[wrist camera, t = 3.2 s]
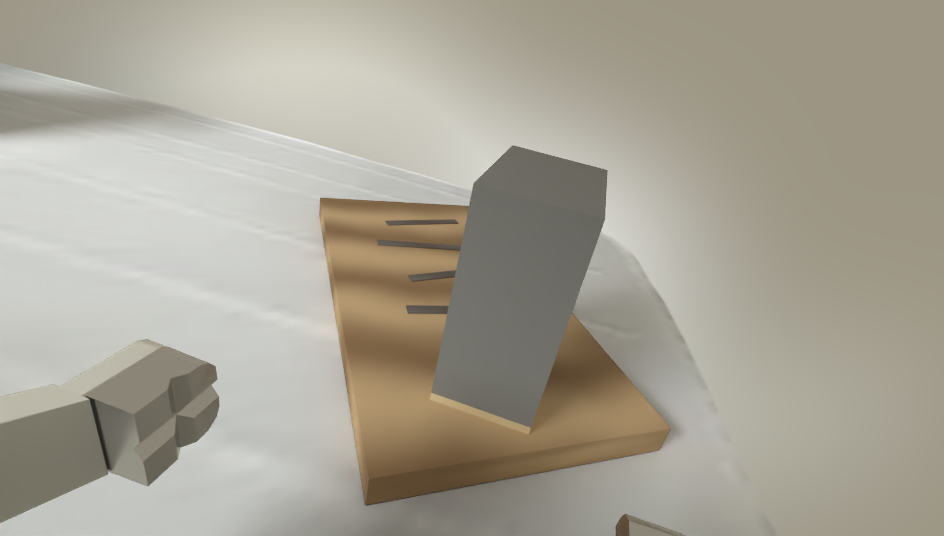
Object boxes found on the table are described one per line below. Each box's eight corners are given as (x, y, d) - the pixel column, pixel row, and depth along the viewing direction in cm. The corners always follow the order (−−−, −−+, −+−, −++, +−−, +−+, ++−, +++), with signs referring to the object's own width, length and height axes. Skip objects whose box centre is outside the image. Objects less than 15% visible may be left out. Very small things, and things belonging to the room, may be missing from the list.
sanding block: (528, 434, 20) (604, 219, 15) (429, 399, 21) (474, 183, 16) (548, 343, 26) (607, 170, 21) (472, 318, 27) (512, 145, 22)
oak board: (319, 215, 38) (320, 196, 37) (477, 221, 43) (481, 205, 43) (365, 505, 17) (369, 477, 17) (658, 450, 23) (671, 427, 22)
